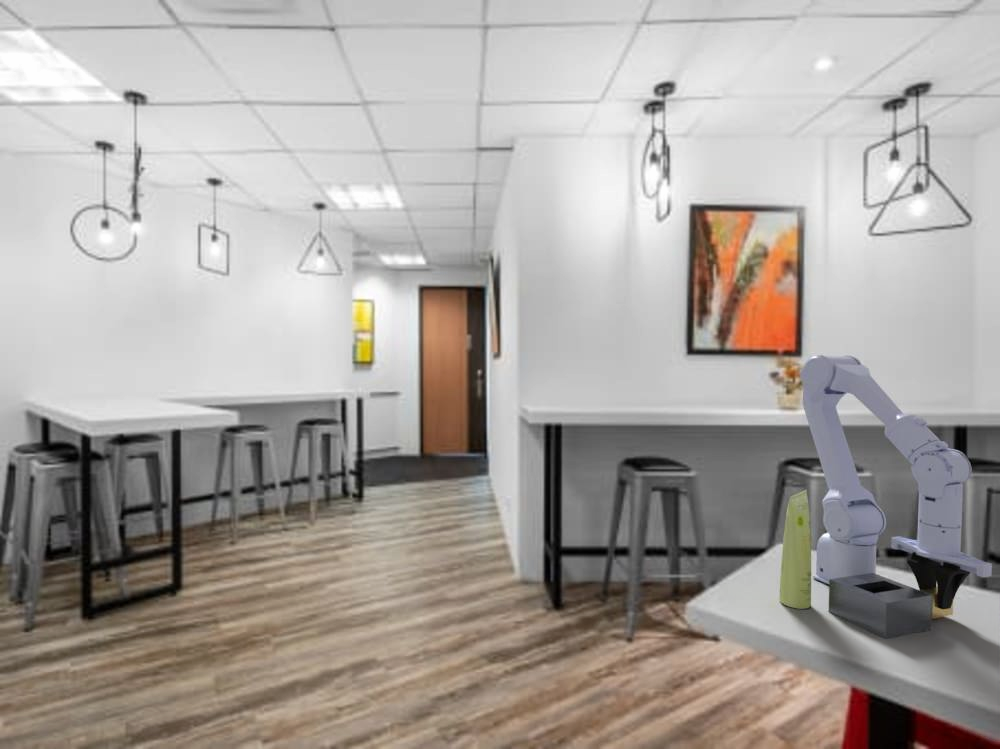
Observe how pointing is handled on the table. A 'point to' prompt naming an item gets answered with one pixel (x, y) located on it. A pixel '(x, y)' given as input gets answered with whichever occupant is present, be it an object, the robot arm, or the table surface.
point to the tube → (796, 554)
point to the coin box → (880, 604)
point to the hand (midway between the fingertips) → (936, 604)
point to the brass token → (937, 611)
